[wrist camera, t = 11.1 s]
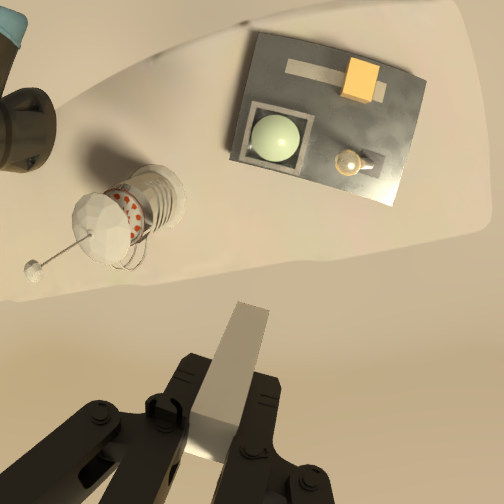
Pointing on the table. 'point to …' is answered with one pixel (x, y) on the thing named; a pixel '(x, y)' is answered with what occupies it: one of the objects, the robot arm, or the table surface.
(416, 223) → the table surface
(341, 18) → the table surface
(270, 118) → the push button
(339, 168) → the toggle lever
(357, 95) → the yellow cube
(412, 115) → the panel
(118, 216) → the french press
